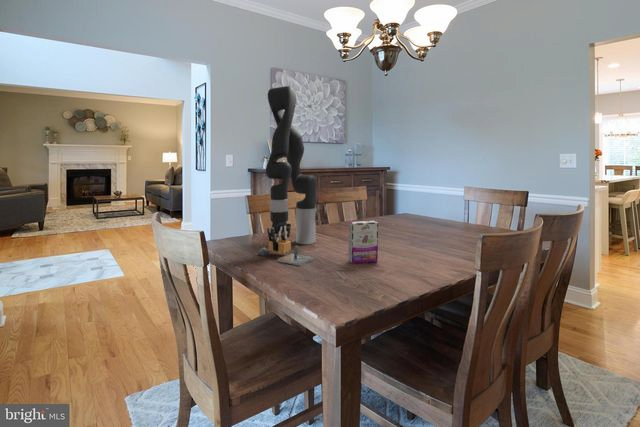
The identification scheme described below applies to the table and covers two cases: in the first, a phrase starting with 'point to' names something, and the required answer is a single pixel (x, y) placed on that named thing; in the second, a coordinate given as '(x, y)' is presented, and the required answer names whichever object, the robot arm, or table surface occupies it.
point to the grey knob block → (263, 252)
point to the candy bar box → (363, 242)
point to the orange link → (281, 246)
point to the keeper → (296, 258)
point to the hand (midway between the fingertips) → (279, 249)
